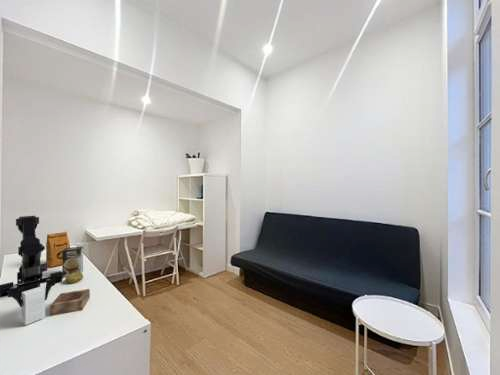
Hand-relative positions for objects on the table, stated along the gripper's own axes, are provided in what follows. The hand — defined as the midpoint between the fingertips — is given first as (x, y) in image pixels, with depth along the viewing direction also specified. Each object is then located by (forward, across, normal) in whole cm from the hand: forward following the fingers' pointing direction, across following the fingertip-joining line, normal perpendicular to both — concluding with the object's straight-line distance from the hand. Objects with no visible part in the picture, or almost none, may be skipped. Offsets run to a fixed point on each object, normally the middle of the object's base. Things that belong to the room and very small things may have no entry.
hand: (33, 303), depth 87 cm
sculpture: (-19, +18, +30) cm, 40 cm away
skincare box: (+4, 0, +6) cm, 8 cm away
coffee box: (-28, +19, +39) cm, 52 cm away
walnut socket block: (+3, +12, +8) cm, 15 cm away
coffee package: (-47, +16, +59) cm, 77 cm away
